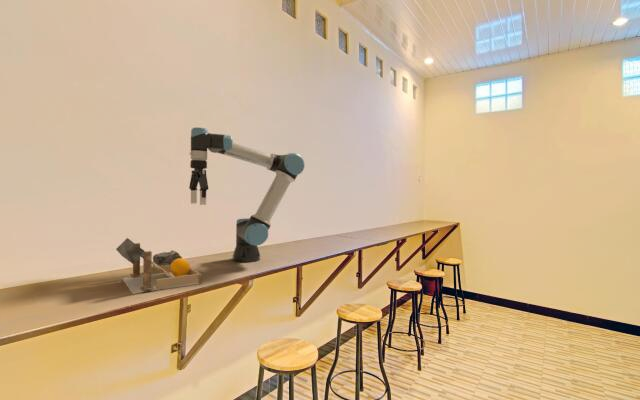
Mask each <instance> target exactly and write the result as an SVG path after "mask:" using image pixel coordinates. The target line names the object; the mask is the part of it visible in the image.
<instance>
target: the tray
mask: <svg viewBox="0 0 640 400" xmlns="http://www.w3.org/2000/svg"><path fill="white" fill-rule="evenodd" d="M159 267H161V268H162V269H163V270H165V271H166V272H167V273H169V274H170V275H171V276H172V277H171V278H170V277H168V276H167V275H166V274H164V273H163V272H162V271H160V270H159V269H158V268H156V267H155V266H154V267H153V266H152V267H151V285H152V286H153V287H154V290H156V291H160V289H162V290H169V289H174V288H175V289H176V288H181V287H187V286H194V285H200V284H202V273H200V272H199V271H197V270H195V269H194V268H192V267H191V266H190V270H189V272H188V273H187V274H186V275H185V276H178V277H176V276H174V275H173V274H172V272H171V265H163V266H159ZM122 280H123V282H124V284H125V285H126V287H127V288H128V289H129V291H130V292H131V293H132V294H133V295H134V294H135V295H136V294H141V293H142V292H143V293H147V292H146V291H145V292H144V291H142V290H141V289H140V287H143V274H142V277H136V278H131V276H125V277H122ZM154 290H151V291H150V292H155V291H154ZM143 293H142V294H143Z"/></svg>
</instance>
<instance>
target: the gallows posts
mask: <svg viewBox="0 0 640 400" xmlns="http://www.w3.org/2000/svg"><path fill="white" fill-rule="evenodd" d="M134 243H135V244H136V245H137V246H139V247H140V248H141V242H134ZM152 253H153V252H152V251H151V250H148V251H145V252H144V256H143V258H142V259H143V263H142V264H143V265H142V266H143V268H142V269H143V273H141V257H140V258H139V259H138V260H137V261H136V262H135V263H134V264H132V274H129V277H131V278H136V277H142V275H143V287H140V289H141V290H142V291H144V292H143V293H149V292H152V291H151V290H154V287H153V286H152V285H151V267H153V265H152V261H153V254H152ZM145 291H146V292H145ZM148 291H149V292H148Z"/></svg>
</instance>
